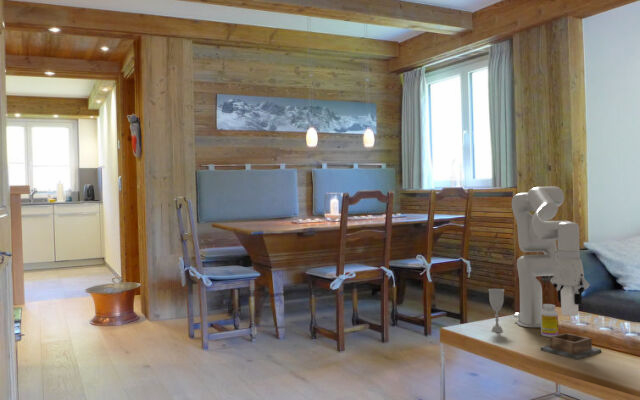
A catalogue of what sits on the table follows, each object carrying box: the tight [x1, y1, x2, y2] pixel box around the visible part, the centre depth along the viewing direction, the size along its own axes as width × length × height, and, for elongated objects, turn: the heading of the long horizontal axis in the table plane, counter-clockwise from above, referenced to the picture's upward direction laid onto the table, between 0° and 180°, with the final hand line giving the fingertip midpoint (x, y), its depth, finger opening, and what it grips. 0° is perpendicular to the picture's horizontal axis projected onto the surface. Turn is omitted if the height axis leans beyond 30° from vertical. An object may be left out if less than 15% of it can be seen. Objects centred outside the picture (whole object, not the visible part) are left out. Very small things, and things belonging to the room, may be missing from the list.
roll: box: [560, 285, 579, 317], centre depth 203 cm, size 6×12×6 cm
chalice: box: [487, 288, 505, 333], centre depth 234 cm, size 7×7×18 cm
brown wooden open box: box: [540, 332, 602, 360], centre depth 203 cm, size 15×15×5 cm
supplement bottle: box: [540, 303, 559, 338], centre depth 225 cm, size 7×7×13 cm
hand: (569, 302), depth 203 cm, fingers closed on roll, 5 cm apart
